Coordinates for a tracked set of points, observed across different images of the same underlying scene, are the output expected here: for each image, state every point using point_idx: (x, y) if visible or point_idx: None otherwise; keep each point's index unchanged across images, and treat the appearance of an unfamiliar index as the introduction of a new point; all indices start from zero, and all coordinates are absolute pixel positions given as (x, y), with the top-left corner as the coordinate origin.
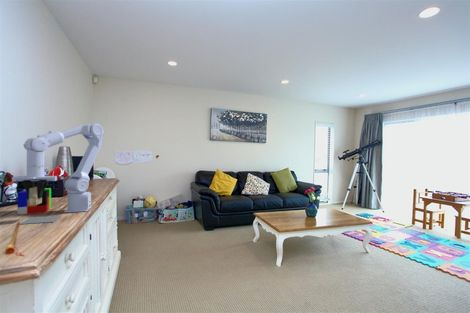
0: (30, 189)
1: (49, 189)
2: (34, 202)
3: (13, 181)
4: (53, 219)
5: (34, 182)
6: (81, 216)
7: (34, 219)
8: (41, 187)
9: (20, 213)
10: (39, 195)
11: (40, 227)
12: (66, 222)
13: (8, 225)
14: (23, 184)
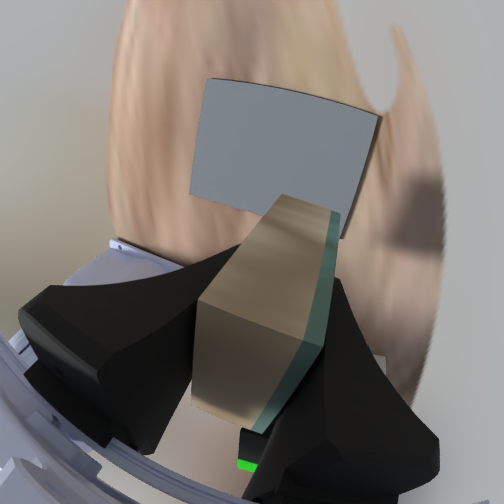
0: (303, 320)
1: (238, 457)
2: (289, 206)
3: (485, 500)
4: (211, 126)
5: (249, 483)
6: (114, 153)
7: (312, 183)
8: (127, 283)
9: (375, 358)
10: (225, 252)
11: (253, 6)
12: (154, 59)
13: (425, 137)
14: (412, 436)
